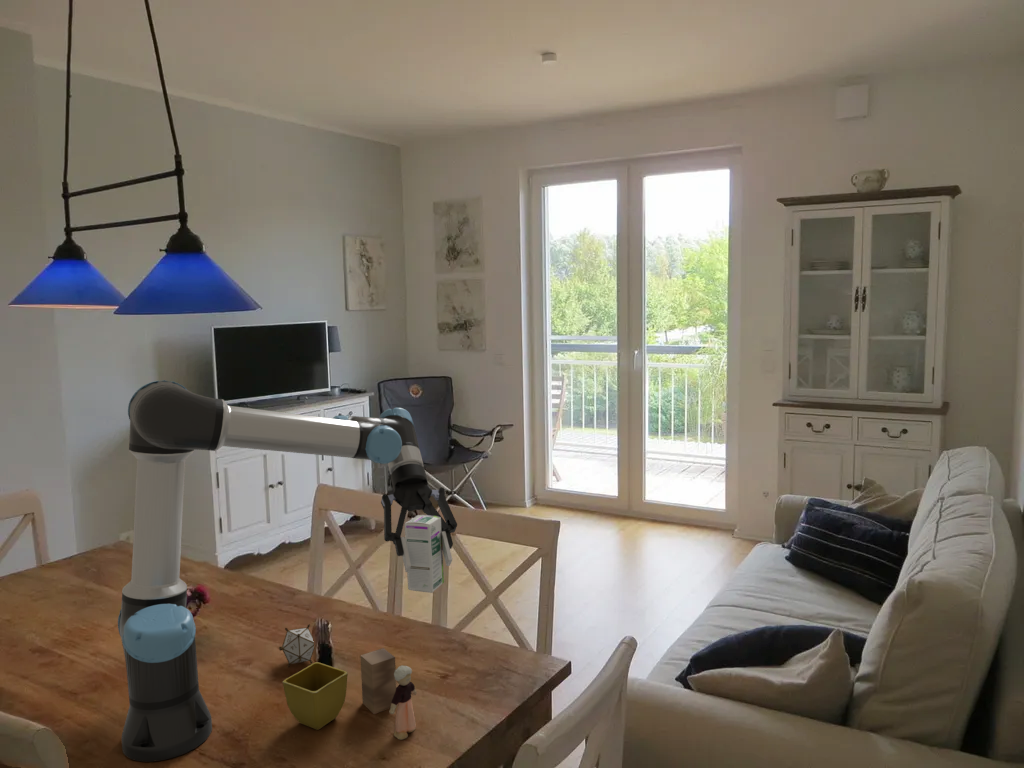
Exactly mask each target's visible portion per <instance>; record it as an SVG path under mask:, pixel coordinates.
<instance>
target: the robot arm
mask: <svg viewBox="0 0 1024 768" xmlns="http://www.w3.org/2000/svg"><path fill="white" fill-rule="evenodd" d="M127 415H128V420H129V439H128V440H129V442H128V452H129V453H131V455H132V456H134V458H135V459H136V460H137V461H136V475H135V476H136V477H135V479H136V480H135V495H134V499H135V501H134V520H133V524H134V525H133V539H132V540H133V542H132V558H131V560H132V561H131V562H132V563H131V578H130V579H131V580H130V581H129V582H128V583H127V584H125V585H124V586H123V587H122V591H121V609H120V610H119V614H118V617H117V628H118V633H119V636H120V639H121V643H122V649H123V655H124V659H125V666H126V667H125V668H126V679H127V690H128V699H129V701H128V702H129V708H128V711H127V715H126V718H125V722H124V725H123V729H122V734H121V749H122V753H123V754H124V756H126V757H127V758H128V759H130V760H133V761H136V762H147V763H148V762H151V763H152V762H158V761H164V760H170V759H174V758H176V757H180V756H182V755H184V754H187V753H189V752H191V751H193V750H195V749H196V748H198V747H199V746H200V745H202V744H203V743H204V742H205V741H207V740H208V739H209V736H211V733H212V730H213V723H212V722H213V721H212V715H211V711H210V710H209V707H208V705H207V704H206V703H207V702H205V699H204V697H203V695H202V693H201V692H200V684H199V672H198V671H199V670H198V660H197V659H198V657H197V645H196V632H197V629H196V624H195V621H194V616H193V613H192V612H191V611H190V610H189V609H188V608H187V600H188V599H187V597H188V596H187V595H188V594H187V593H188V585H187V583H186V582H185V581H184V580H182V579H181V578H180V573H181V571H180V570H181V569H180V568H181V551H182V537H183V536H182V534H183V513H184V511H183V510H184V496H185V495H184V494H185V493H184V492H185V478H186V477H185V476H186V475H185V474H186V460H187V459H188V457H190V456H191V455H192V454H193V453H194V452H195V451H196V450H197V451H198V450H199V451H211V452H212V451H213V452H216V451H217V450H219V449H221V448H222V447H229V448H239V449H240V448H241V449H252V450H260V451H262V450H263V451H273V452H282V453H294V454H295V453H296V454H308V455H316V456H317V455H318V456H327V457H337V458H338V457H339V458H347V459H348V458H350V459H355V460H356V459H357V460H365V461H367V460H368V461H371V462H373V463H376V464H383V465H386V464H387V465H388V466H387V467H388V470H389V474H390V479H391V484H392V489H393V493H392V494H387V493H384V494H382V497H381V501H380V504H381V506H382V509H383V538H384V539H383V540H384V541H385V542H389V541H390V542H392V543H393V545H394V548H395V551H396V552H395V553H396V556H397V557H402V563H403V567H404V572H405V573H407V572H409V571H410V568H411V563H410V558H409V553H408V549H407V544H406V540H405V536H402V532H403V528H404V526H405V520H406V516H407V512H411V511H415V510H416V511H422V512H423V513H424V514H425V515H432V516H438V517H441V531H442V552H443V559H444V561H445V565H446V567H449V566H451V564H452V562H453V557H452V552H451V550H452V548H453V544H454V542H453V538H452V533H455V532H456V531H457V527H458V523H457V521H456V518H455V516H454V514H453V511H452V510H451V507H450V506H449V503H448V501H447V499H446V495H445V492H446V491H445V488H444V487H439V489H432V488H431V487H430V485H429V481H428V479H427V478H428V477H427V474H426V470H425V466H424V462H423V459H422V458H423V457H422V453H421V450H420V446H419V442H418V437H417V433H416V427H415V424H414V421H413V418H412V416H411V413H410V412H409V411H408V410H407V409H404V408H402V407H394V408H392V409H391V408H388V409H385V410H384V411H383V412H382V413H380V415H379V417H372V416H371V417H369V416H356V415H349V414H346V415H335V416H334V417H324V416H323V417H321V416H315V415H306V414H298V413H293V412H292V413H290V412H284V411H283V412H281V411H276V410H275V411H274V410H267V409H259V408H250V407H244V406H243V407H241V406H232V405H228V404H227V402H226V401H225V399H222V398H216V397H215V398H214V397H213V398H212V397H208V396H204V395H201V394H197V393H194V392H192V391H190V390H188V389H187V388H186V387H185V386H184V385H182V384H180V383H179V382H175V381H171V380H169V381H168V380H154V381H151V382H148V383H146V384H144V385H142V386H141V387H140V388H138V389H137V390H136V392H134V394H133V395H132V397H131V398H130V400H129V403H128V406H127ZM431 497H433V498H434V500H435V501H436V502H437V506H438V508H439V510H440V512H441V514H440V513H439V512H438V511H437V509H436V508H435V507H434V505H433V502H432V501H431ZM393 501H394V502H396V504H398V505H399V506H400V507H401V509H400V513H399V517H398V520H397V525H396V530H395V531H394V532H392V529H393V528H392V506H393Z"/></svg>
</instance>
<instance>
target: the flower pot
mask: <svg viewBox="0 0 1024 768" xmlns="http://www.w3.org/2000/svg"><path fill="white" fill-rule="evenodd" d="M312 663H313V662H312ZM312 663H310V664H309V665H308V666H307V667H305V668H303V669H301V670H300V671H297V672H296V673H294V674H292V675H291V676H289V677H286V678H285V679H284V680H283V681H281V683H282V685H283V690H284V691H283V692H284V695H285V700H286V703H287V706H288V708H289V711H290V714H291V715H292V716H293V717H294V719H295V720H297V722H298V723H300V724H302V725H304V726H306V727H309V728H312V729H314V730H320V729H322V728H324V727H325V726H326V725H327V724H329V723H330V722H331V721H334V720H335V719H336V718H337V717H338V715H339V714H340V712H341V711H342V708H343V706H344V704H345V700H346V696H347V685H348V674H349V673H348V671H346V670H344V669H340V668H337V667H334V666H331V665H328V664H325V663H321V662H318V661H317V662H314V663H313V664H312Z"/></svg>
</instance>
